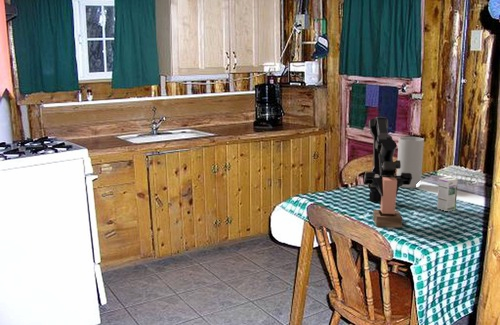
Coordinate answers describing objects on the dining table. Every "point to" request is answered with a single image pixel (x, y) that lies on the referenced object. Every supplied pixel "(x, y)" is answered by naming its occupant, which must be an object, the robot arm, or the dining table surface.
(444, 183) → the syrup box
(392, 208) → the square peg
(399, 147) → the cylinder vase
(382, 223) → the socket block
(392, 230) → the dining table surface
